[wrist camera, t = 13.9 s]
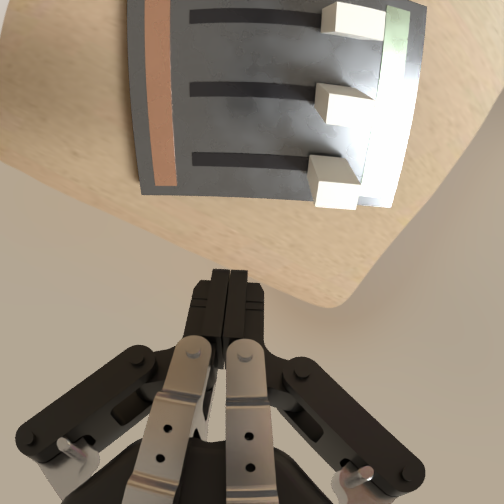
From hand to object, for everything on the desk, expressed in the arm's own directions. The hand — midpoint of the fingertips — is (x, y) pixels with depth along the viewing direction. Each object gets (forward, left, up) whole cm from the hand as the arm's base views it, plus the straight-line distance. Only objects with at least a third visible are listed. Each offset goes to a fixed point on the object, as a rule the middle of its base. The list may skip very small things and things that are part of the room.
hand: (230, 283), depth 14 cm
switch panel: (-6, +2, -17) cm, 18 cm away
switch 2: (0, +7, -14) cm, 16 cm away
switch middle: (-6, +6, -14) cm, 17 cm away
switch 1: (-12, +7, -14) cm, 20 cm away
